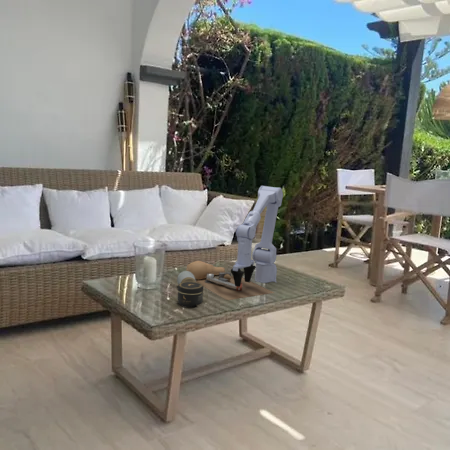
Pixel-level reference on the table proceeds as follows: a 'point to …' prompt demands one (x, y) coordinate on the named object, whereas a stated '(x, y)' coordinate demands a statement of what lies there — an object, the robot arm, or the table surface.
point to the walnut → (227, 277)
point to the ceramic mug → (185, 277)
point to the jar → (190, 294)
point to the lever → (222, 282)
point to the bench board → (231, 293)
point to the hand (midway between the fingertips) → (242, 284)
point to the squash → (203, 269)
